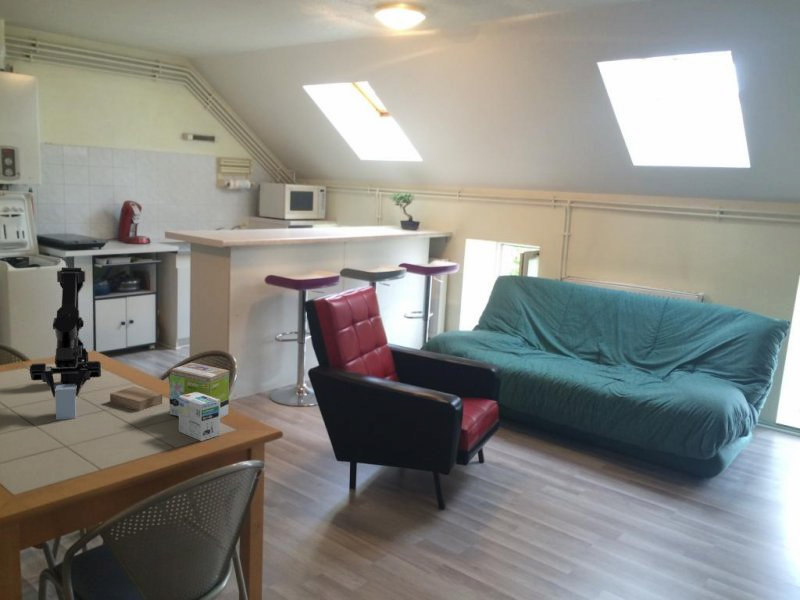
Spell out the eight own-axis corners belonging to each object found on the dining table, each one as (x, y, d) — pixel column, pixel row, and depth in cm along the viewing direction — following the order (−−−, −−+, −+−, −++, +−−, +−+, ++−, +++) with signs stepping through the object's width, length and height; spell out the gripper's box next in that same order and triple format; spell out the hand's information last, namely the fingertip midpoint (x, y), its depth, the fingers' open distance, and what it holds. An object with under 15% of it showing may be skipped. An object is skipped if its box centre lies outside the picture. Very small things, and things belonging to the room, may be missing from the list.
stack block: (133, 396, 216) (133, 386, 215) (162, 404, 210) (162, 394, 210) (110, 404, 208) (110, 393, 207) (139, 412, 202) (139, 401, 202)
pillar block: (76, 412, 198) (75, 383, 196) (75, 418, 193) (74, 388, 192) (57, 414, 196) (56, 384, 194) (56, 419, 191) (55, 389, 190)
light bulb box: (220, 435, 187) (221, 399, 185) (201, 442, 182) (201, 404, 180) (197, 425, 193) (197, 390, 191) (177, 431, 188) (177, 395, 186)
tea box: (168, 415, 200) (168, 368, 198) (190, 406, 209) (190, 361, 207) (208, 425, 195) (209, 376, 192) (229, 415, 204) (230, 368, 201)
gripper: (29, 336, 190) (25, 385, 182) (100, 334, 198) (100, 381, 190) (33, 356, 199) (30, 403, 191) (101, 353, 206) (101, 398, 198)
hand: (65, 396), depth 192 cm, fingers open, 6 cm apart
